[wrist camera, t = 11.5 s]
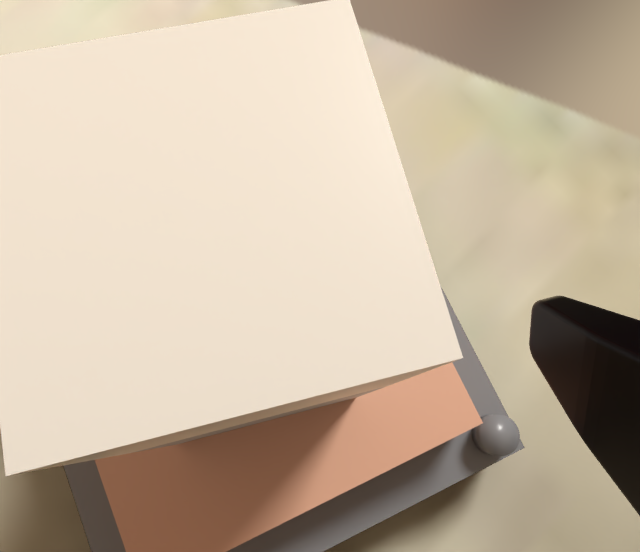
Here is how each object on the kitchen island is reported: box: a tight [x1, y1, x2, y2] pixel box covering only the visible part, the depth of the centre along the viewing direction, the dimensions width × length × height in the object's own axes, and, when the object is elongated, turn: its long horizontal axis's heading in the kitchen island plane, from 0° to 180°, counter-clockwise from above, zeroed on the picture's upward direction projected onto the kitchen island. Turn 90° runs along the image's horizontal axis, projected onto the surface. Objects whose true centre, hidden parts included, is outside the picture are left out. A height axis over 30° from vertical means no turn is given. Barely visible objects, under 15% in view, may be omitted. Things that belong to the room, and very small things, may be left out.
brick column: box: [0, 0, 463, 476], centre depth 11 cm, size 5×5×10 cm
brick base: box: [64, 288, 524, 552], centre depth 18 cm, size 13×13×4 cm
